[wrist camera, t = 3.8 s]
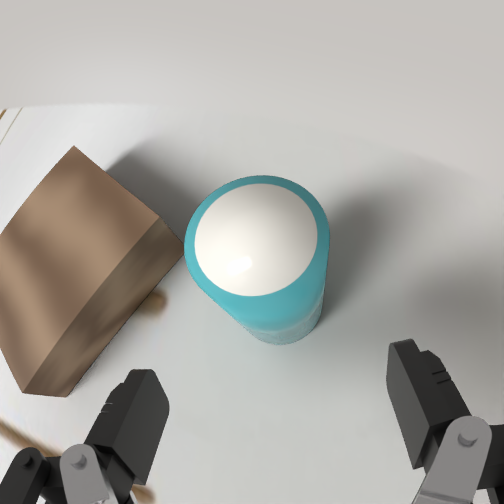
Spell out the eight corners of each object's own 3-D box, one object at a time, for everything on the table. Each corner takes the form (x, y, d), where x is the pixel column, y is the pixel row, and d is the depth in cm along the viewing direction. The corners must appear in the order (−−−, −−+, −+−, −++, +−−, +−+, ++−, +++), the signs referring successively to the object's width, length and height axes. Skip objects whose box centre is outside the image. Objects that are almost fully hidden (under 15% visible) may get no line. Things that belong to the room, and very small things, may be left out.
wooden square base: (100, 175, 29) (73, 145, 24) (187, 249, 24) (159, 216, 19) (8, 292, 26) (-26, 275, 21) (66, 397, 20) (22, 393, 16)
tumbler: (273, 249, 22) (246, 155, 13) (338, 294, 20) (358, 219, 11) (222, 310, 21) (156, 250, 12) (286, 361, 19) (264, 341, 10)
